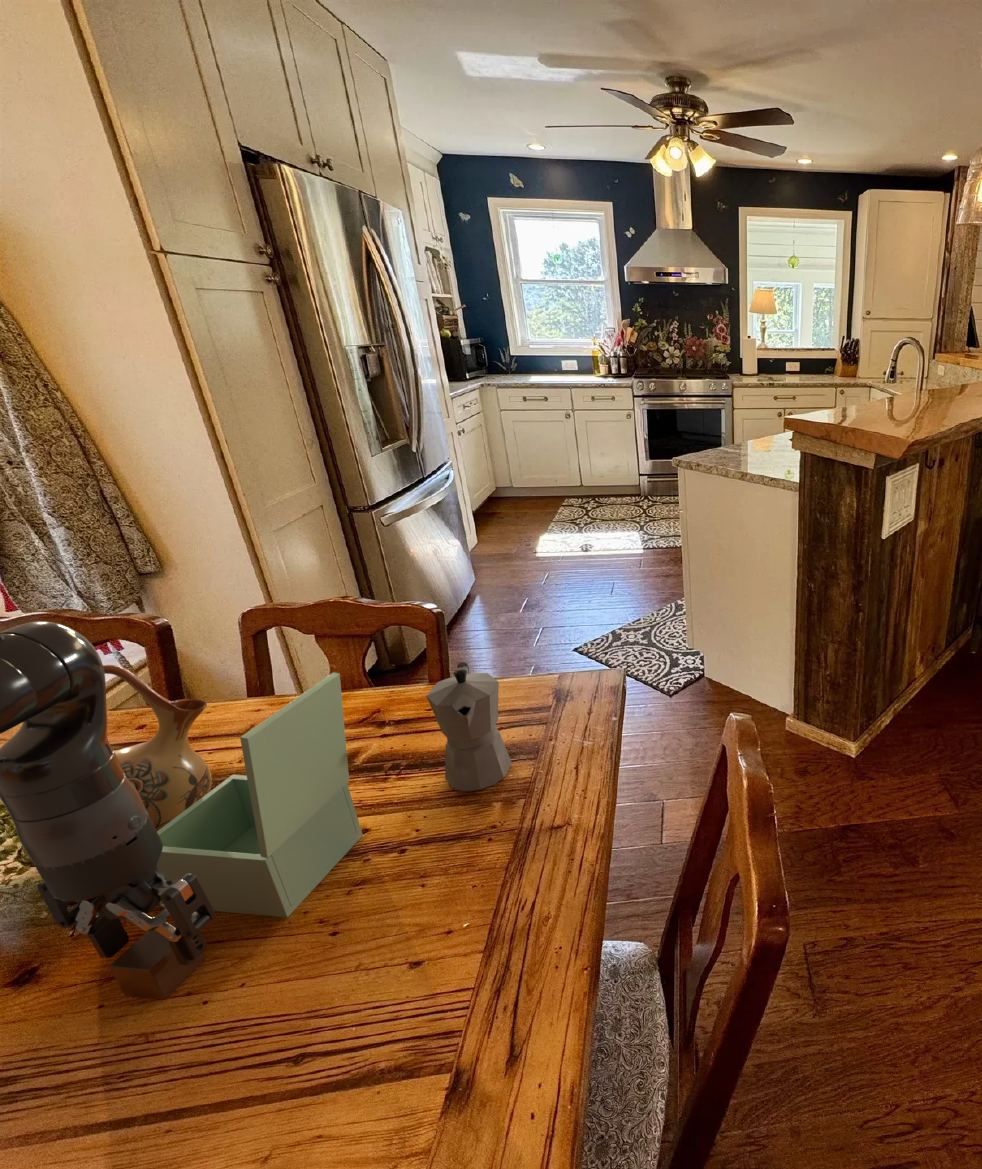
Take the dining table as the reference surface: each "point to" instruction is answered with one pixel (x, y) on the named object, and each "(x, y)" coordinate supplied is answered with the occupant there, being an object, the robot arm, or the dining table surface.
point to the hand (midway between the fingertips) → (155, 953)
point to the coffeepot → (470, 729)
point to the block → (151, 968)
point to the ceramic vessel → (165, 756)
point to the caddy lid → (296, 762)
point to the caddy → (254, 851)
